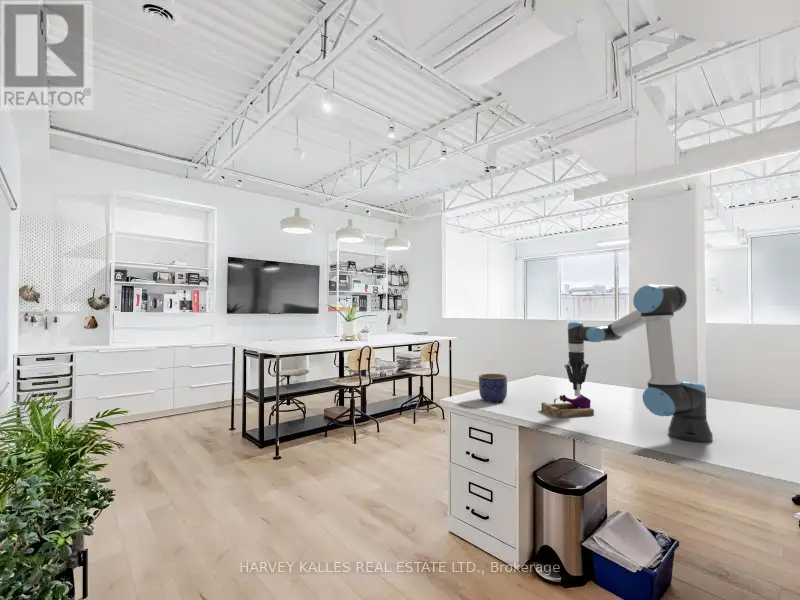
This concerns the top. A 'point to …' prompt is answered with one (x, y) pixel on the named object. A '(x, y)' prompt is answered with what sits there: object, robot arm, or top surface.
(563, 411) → the u rest
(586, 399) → the purple potion bottle
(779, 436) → the top surface
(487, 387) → the planter
